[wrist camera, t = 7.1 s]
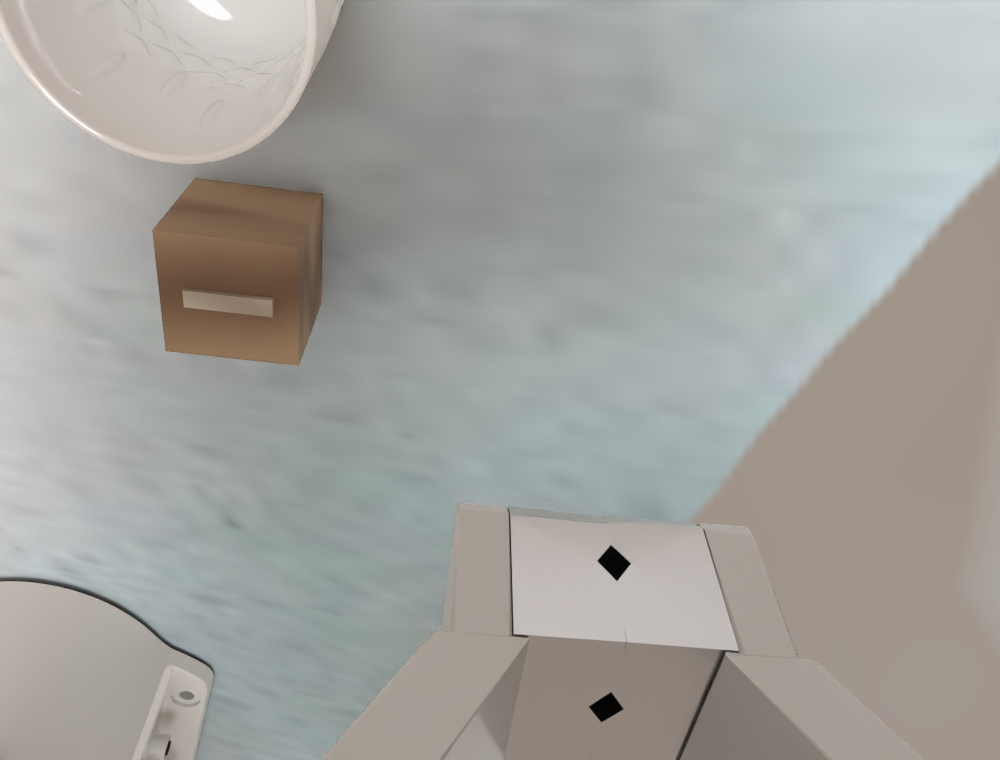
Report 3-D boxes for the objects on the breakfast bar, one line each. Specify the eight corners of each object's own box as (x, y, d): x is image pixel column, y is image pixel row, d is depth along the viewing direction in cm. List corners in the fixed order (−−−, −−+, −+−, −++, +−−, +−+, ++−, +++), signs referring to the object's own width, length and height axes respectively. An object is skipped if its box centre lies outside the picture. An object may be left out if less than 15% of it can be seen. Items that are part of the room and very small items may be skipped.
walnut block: (321, 302, 36) (297, 368, 32) (204, 288, 36) (163, 353, 31) (323, 193, 33) (297, 249, 29) (195, 177, 33) (150, 232, 29)
